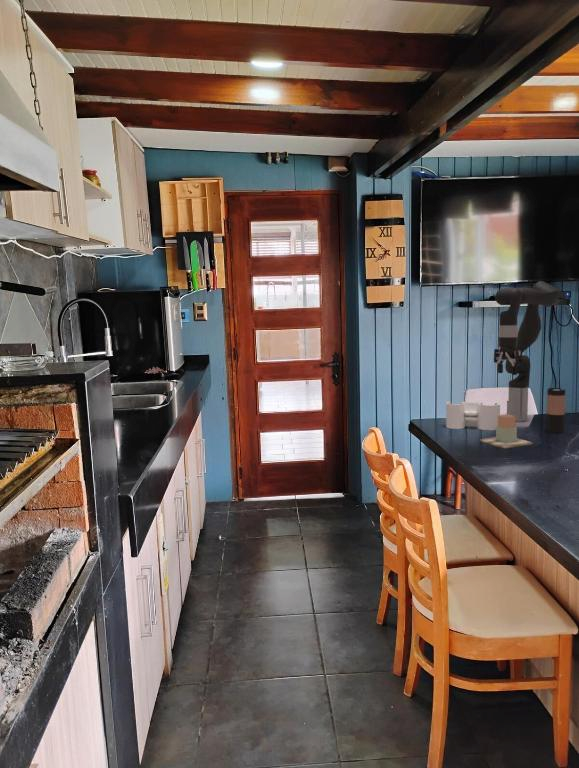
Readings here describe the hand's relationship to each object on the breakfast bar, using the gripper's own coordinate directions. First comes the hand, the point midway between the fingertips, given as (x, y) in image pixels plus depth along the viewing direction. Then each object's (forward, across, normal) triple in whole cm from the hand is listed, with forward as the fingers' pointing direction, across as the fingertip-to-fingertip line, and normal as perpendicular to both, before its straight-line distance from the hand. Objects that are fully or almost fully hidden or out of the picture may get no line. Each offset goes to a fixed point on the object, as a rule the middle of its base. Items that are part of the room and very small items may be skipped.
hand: (507, 373), depth 242 cm
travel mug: (+30, +5, -33) cm, 45 cm away
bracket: (+30, +31, -7) cm, 44 cm away
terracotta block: (+23, 0, 0) cm, 23 cm away
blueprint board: (+30, 0, 0) cm, 30 cm away
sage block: (+29, 0, 0) cm, 29 cm away
